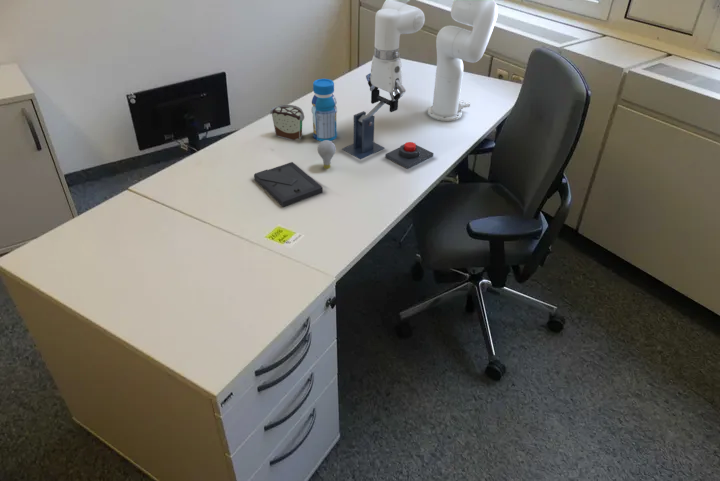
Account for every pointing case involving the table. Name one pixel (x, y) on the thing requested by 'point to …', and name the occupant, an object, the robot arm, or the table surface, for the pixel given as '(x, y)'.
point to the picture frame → (288, 184)
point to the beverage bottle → (324, 110)
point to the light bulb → (326, 152)
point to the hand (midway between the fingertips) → (384, 106)
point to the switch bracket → (363, 138)
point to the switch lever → (375, 108)
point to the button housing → (409, 156)
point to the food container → (287, 121)
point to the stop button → (410, 147)
